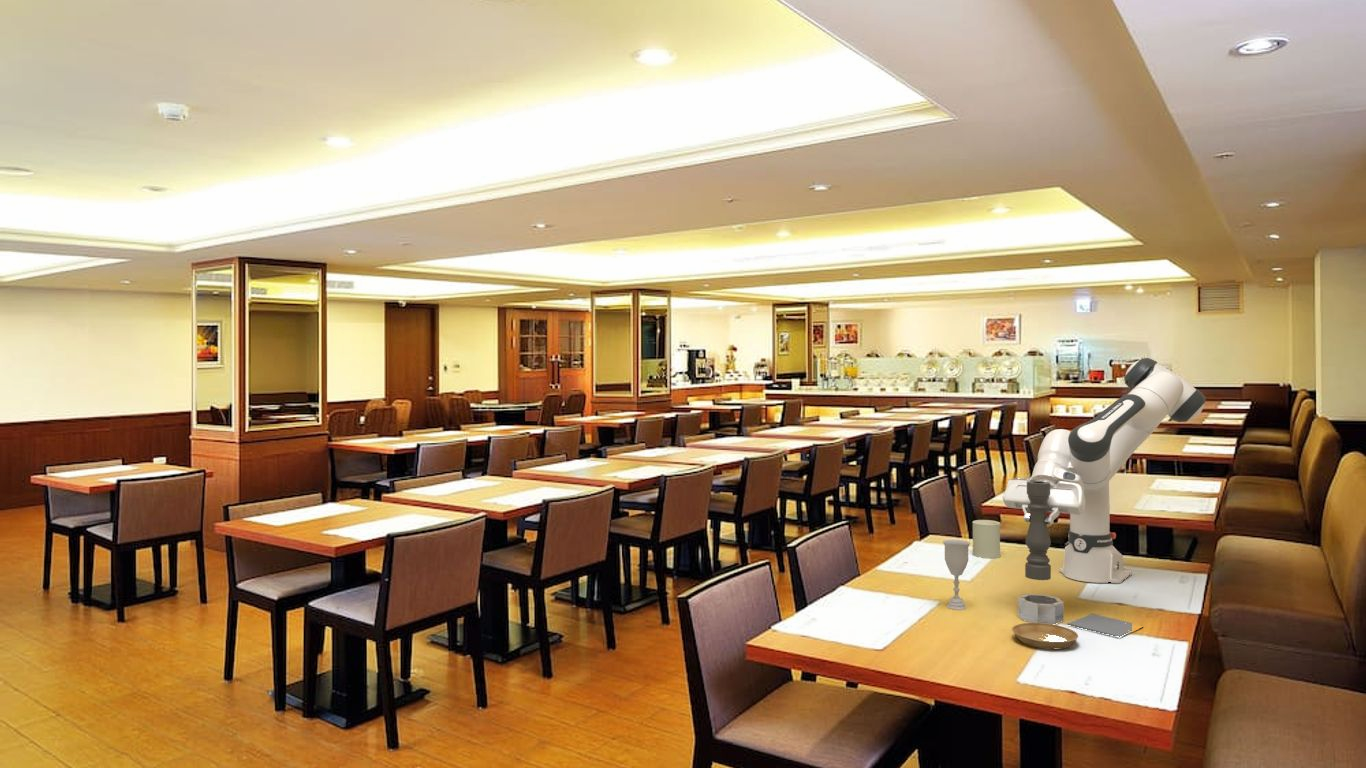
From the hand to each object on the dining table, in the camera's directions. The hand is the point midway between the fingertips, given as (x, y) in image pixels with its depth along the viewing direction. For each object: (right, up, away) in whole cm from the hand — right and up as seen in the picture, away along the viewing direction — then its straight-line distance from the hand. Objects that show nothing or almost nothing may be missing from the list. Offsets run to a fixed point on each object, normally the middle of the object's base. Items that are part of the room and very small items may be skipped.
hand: (1037, 522), depth 221 cm
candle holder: (0, -15, +1) cm, 15 cm away
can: (+12, -23, +71) cm, 76 cm away
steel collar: (+1, -25, +1) cm, 25 cm away
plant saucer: (-5, -27, -17) cm, 32 cm away
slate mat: (+14, -26, -7) cm, 30 cm away
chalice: (-17, -26, +12) cm, 33 cm away
